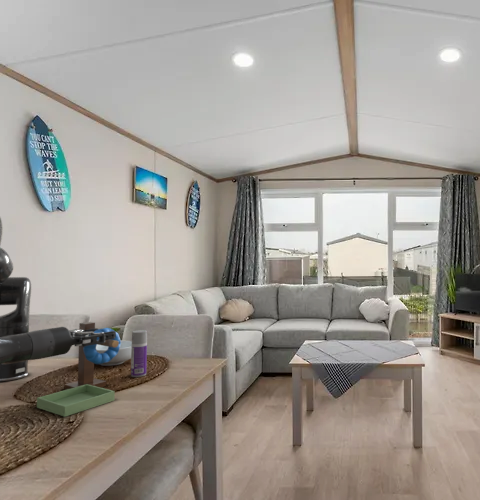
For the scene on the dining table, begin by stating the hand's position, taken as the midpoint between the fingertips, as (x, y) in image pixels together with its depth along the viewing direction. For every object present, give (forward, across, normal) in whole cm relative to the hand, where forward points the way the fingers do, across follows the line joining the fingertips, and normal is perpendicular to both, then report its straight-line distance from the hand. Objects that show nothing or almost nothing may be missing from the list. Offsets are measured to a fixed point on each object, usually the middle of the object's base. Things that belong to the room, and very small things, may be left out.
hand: (106, 333), depth 119 cm
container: (+15, +6, +18) cm, 24 cm away
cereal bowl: (+20, +28, +18) cm, 38 cm away
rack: (-1, +3, +17) cm, 18 cm away
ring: (-1, 0, +4) cm, 4 cm away
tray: (-10, -4, +18) cm, 20 cm away
